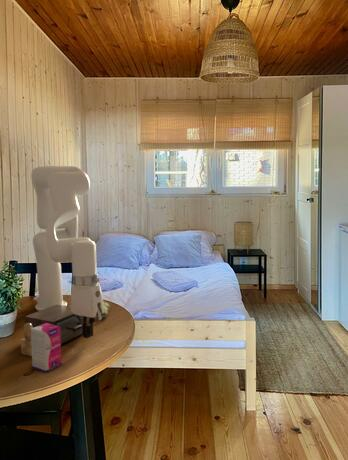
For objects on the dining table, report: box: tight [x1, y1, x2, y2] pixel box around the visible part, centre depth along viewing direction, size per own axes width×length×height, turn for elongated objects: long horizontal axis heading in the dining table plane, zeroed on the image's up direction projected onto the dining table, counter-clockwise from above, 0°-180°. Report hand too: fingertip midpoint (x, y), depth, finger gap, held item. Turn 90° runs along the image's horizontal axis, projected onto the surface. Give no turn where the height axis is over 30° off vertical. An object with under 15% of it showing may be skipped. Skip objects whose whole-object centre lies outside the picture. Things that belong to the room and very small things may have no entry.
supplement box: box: [31, 323, 62, 373], centre depth 117 cm, size 6×6×12 cm
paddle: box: [20, 323, 32, 357], centre depth 126 cm, size 5×2×10 cm, turn 62°
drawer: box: [55, 316, 83, 345], centre depth 138 cm, size 15×13×7 cm
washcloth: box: [68, 301, 111, 319], centre depth 162 cm, size 13×18×3 cm
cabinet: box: [24, 305, 83, 345], centre depth 140 cm, size 12×14×8 cm
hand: (88, 336), depth 133 cm, fingers closed
